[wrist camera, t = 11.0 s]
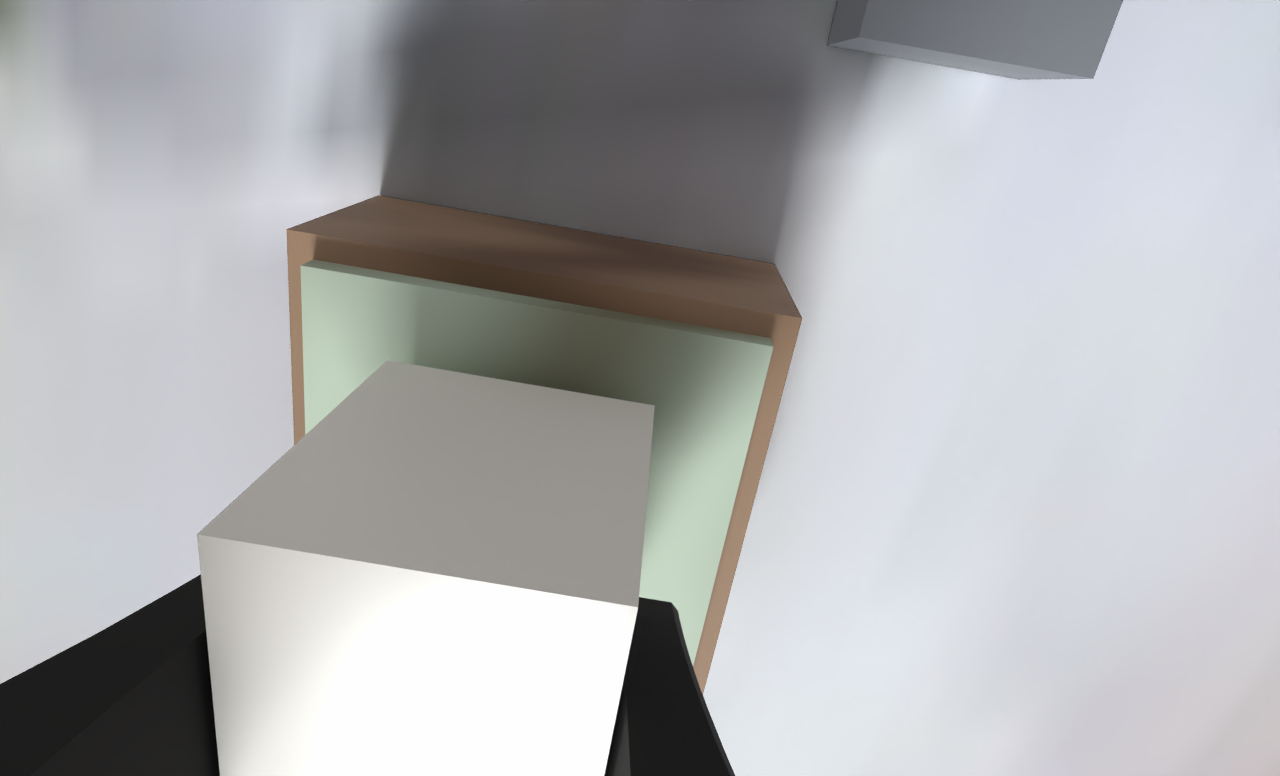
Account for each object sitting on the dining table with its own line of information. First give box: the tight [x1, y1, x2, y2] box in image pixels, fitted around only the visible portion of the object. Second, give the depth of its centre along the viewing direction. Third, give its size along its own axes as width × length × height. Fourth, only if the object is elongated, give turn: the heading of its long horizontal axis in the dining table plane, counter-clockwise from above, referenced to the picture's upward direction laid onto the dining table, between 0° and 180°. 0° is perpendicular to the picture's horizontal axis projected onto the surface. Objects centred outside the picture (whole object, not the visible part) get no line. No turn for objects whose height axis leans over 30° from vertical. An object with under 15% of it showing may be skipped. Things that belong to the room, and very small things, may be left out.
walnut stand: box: [287, 196, 802, 695], centre depth 14 cm, size 8×8×4 cm
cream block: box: [197, 360, 655, 776], centre depth 9 cm, size 4×4×4 cm
